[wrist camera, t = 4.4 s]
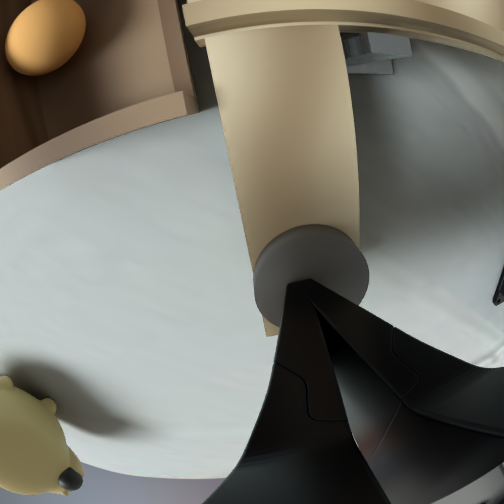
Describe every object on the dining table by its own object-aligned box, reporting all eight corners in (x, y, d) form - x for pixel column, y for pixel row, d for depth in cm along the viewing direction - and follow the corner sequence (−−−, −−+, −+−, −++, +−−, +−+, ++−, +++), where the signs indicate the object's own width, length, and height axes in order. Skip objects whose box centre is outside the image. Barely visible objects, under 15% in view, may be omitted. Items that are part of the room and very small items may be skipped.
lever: (501, -31, 3) (532, -36, 1) (515, 256, 11) (540, 279, 9) (175, -82, 4) (160, -116, 1) (258, 319, 11) (262, 366, 9)
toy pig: (58, 433, 21) (43, 509, 12) (-24, 366, 16) (-58, 447, 6) (110, 427, 20) (98, 527, 11) (7, 344, 14) (-41, 457, 5)
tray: (164, -74, 5) (147, -128, 1) (199, 112, 10) (187, 114, 6) (26, -12, 5) (-27, -32, 1) (49, 164, 10) (-14, 198, 6)
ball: (58, 20, 7) (99, -19, 5) (65, 78, 8) (107, 46, 7) (-5, 31, 4) (23, -18, 3) (-1, 98, 6) (25, 59, 4)
